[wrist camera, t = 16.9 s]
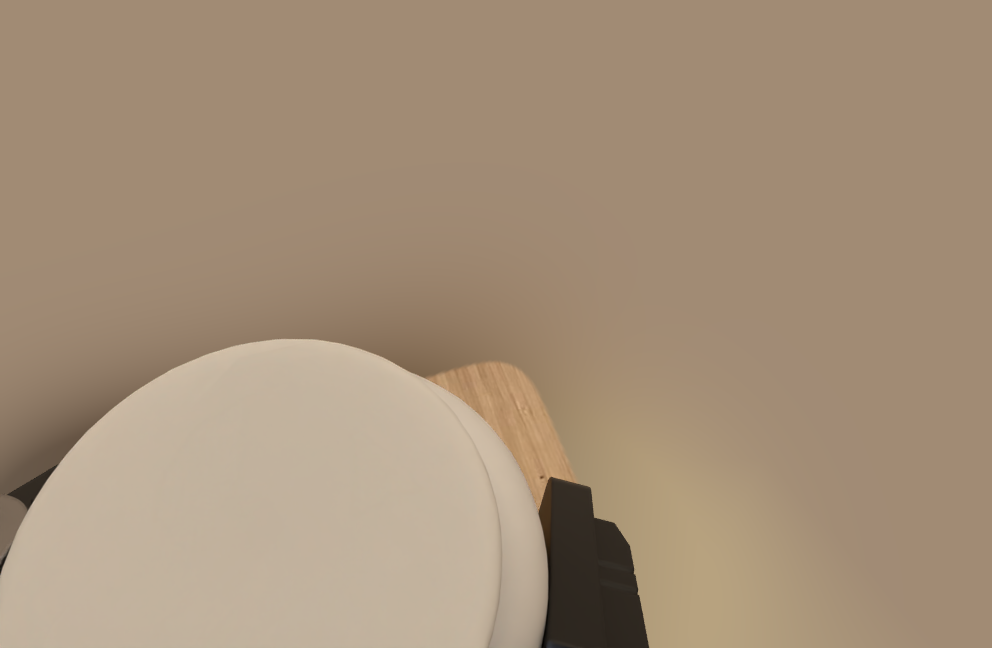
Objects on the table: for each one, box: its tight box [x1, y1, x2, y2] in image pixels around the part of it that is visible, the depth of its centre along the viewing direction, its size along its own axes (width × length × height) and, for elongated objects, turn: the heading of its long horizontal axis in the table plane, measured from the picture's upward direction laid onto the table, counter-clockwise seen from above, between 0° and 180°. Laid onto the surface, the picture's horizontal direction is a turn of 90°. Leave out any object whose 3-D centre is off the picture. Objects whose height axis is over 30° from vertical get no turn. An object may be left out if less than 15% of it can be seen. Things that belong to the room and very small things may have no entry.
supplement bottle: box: [0, 339, 548, 648], centre depth 9 cm, size 6×6×10 cm
